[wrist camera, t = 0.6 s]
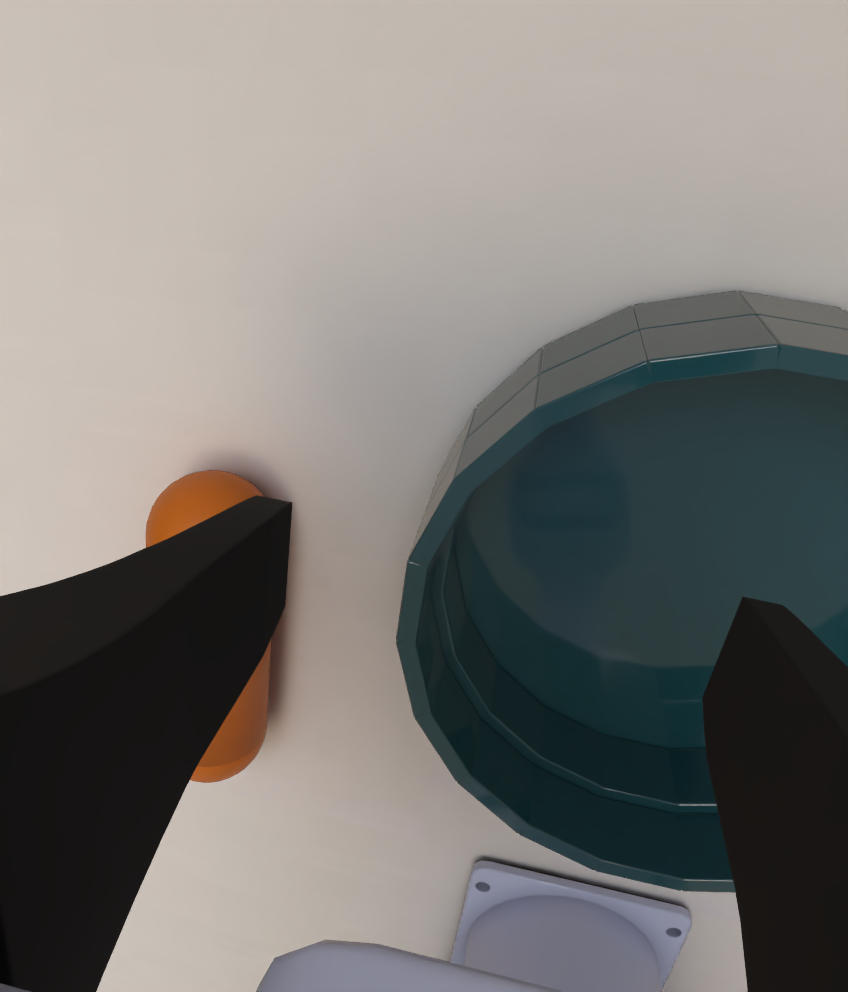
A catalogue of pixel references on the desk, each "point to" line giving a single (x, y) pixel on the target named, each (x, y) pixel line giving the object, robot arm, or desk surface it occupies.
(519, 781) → the teal shallow bowl
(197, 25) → the desk surface
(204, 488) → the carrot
